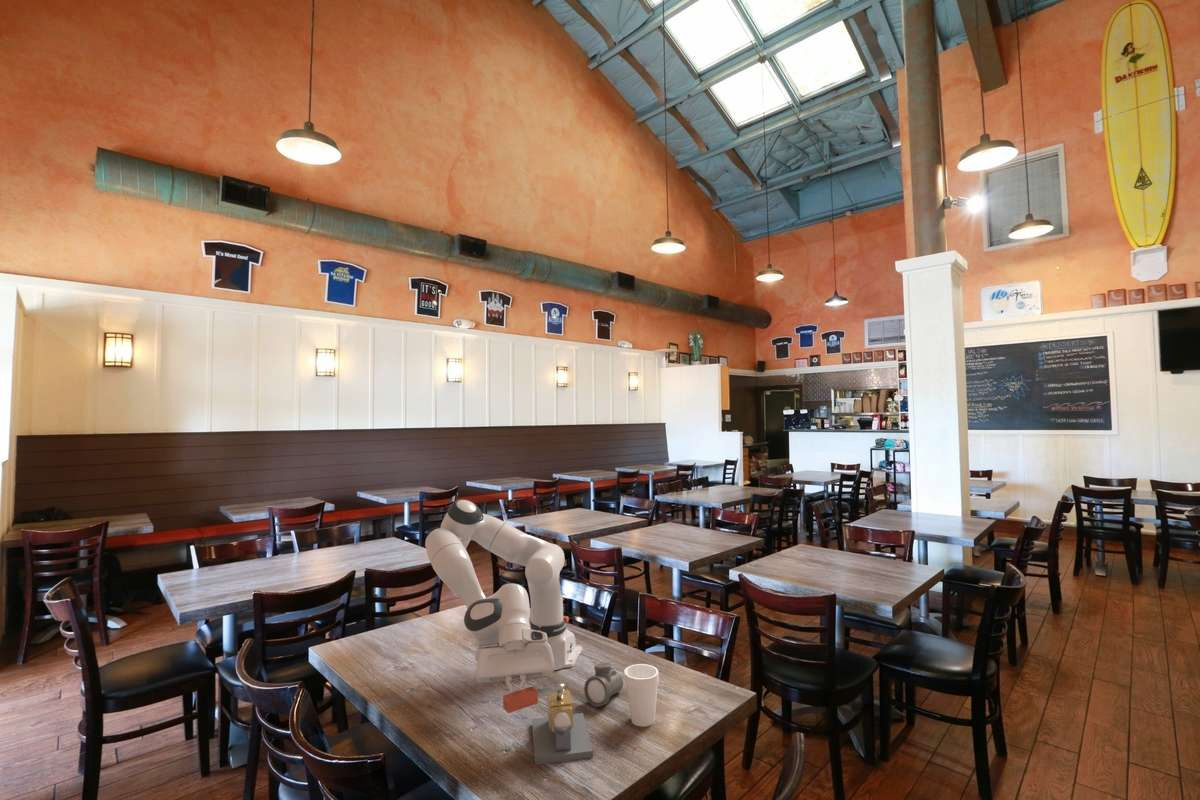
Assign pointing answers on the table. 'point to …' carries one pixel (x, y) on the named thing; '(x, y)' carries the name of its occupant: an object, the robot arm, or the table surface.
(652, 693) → the foam cup
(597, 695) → the pipe fitting
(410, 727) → the table surface
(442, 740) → the table surface
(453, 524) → the robot arm
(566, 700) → the pipe and valve
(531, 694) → the valve lever
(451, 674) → the table surface
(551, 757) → the slate plate
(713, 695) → the table surface
